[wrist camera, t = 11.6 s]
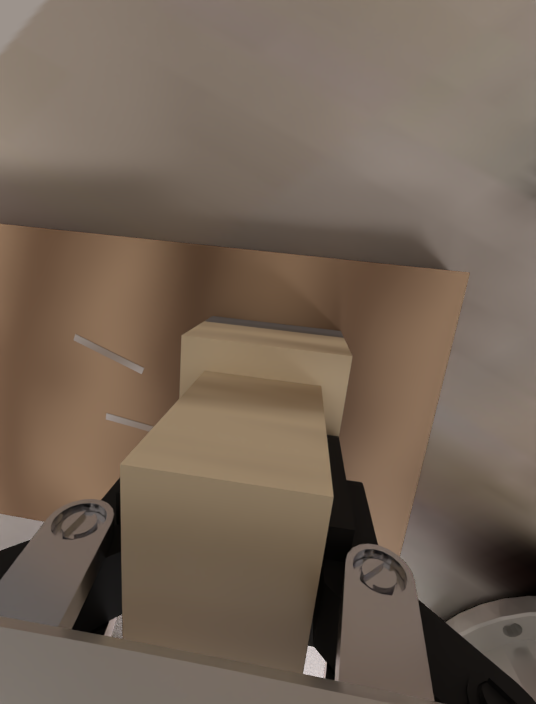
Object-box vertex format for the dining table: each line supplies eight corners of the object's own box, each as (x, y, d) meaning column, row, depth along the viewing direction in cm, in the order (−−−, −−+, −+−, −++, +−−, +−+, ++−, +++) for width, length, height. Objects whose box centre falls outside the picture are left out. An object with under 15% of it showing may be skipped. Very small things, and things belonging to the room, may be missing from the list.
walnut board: (448, 270, 14) (470, 272, 12) (384, 549, 18) (393, 585, 16) (-5, 223, 16) (-48, 218, 14) (21, 487, 20) (-11, 512, 18)
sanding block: (212, 315, 14) (73, 401, 6) (340, 331, 13) (394, 447, 5) (202, 490, 16) (91, 738, 8) (313, 507, 16) (319, 787, 7)
